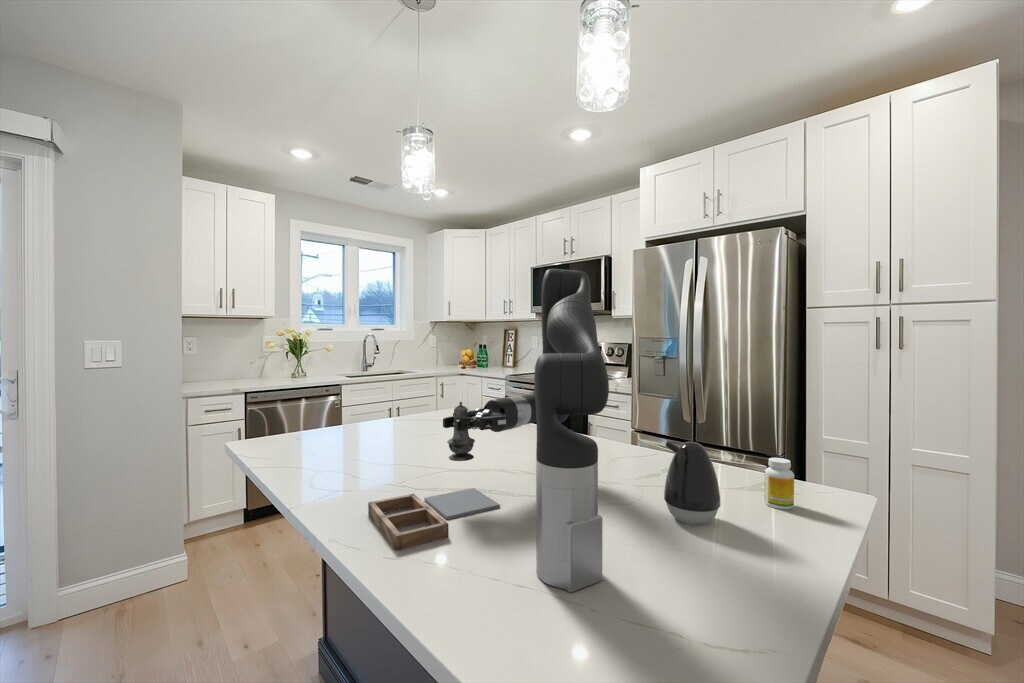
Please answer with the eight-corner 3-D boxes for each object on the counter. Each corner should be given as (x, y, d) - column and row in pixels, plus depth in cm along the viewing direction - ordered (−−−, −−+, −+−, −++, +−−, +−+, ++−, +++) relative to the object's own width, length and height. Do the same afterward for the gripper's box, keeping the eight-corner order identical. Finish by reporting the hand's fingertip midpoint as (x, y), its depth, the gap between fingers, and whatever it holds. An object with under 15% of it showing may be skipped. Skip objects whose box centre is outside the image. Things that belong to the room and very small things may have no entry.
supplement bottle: (759, 500, 99) (759, 456, 99) (783, 500, 99) (783, 456, 99) (774, 510, 93) (774, 463, 93) (799, 510, 94) (800, 463, 93)
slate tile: (499, 507, 95) (499, 504, 95) (446, 519, 89) (446, 516, 89) (473, 490, 105) (473, 487, 105) (424, 500, 99) (424, 497, 99)
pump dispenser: (677, 505, 96) (677, 433, 96) (728, 519, 89) (729, 441, 88) (653, 519, 89) (653, 441, 89) (707, 536, 82) (707, 451, 81)
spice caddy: (448, 537, 81) (448, 523, 81) (395, 550, 76) (395, 536, 76) (414, 504, 97) (413, 493, 97) (368, 514, 92) (368, 502, 92)
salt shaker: (470, 462, 94) (469, 403, 93) (443, 460, 95) (442, 403, 95) (478, 454, 99) (477, 399, 99) (452, 453, 101) (451, 399, 100)
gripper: (486, 394, 112) (429, 403, 100) (530, 400, 102) (472, 410, 90) (487, 424, 112) (429, 437, 100) (530, 433, 103) (473, 448, 90)
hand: (450, 424), depth 95 cm, fingers closed on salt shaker, 3 cm apart
